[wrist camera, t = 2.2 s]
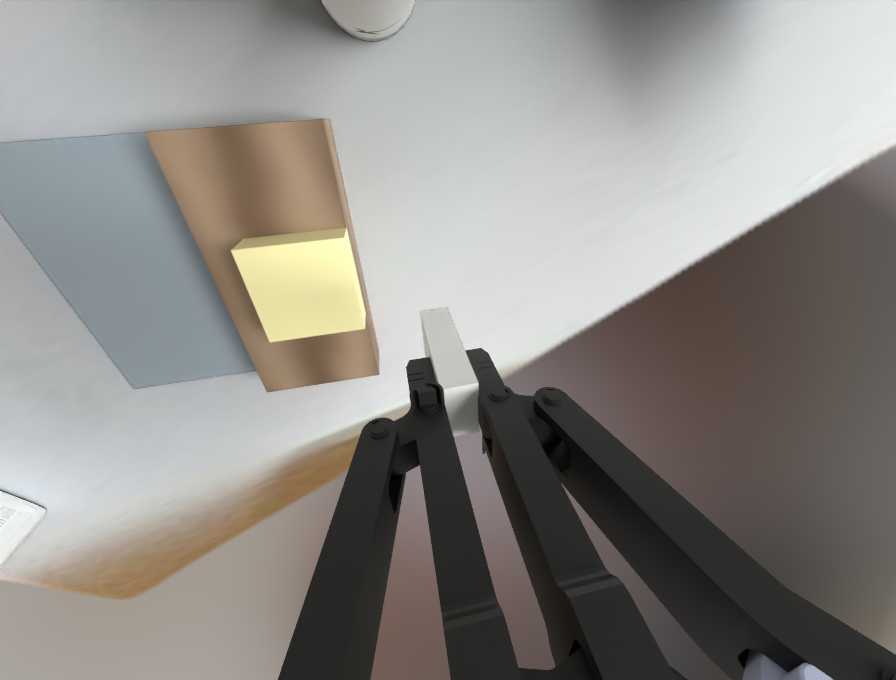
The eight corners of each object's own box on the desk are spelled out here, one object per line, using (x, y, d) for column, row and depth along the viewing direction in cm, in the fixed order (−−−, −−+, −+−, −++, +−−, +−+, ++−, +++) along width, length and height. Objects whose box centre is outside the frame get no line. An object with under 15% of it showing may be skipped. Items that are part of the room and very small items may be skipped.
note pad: (346, 227, 24) (343, 237, 22) (365, 313, 28) (364, 329, 26) (243, 238, 24) (230, 250, 21) (277, 325, 27) (269, 342, 25)
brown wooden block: (329, 119, 24) (322, 119, 21) (378, 350, 35) (379, 374, 32) (177, 130, 23) (144, 132, 20) (277, 365, 34) (267, 392, 31)
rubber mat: (177, 130, 23) (175, 130, 23) (277, 365, 34) (277, 367, 34) (-45, 146, 21) (-50, 146, 21) (135, 387, 32) (133, 389, 32)
